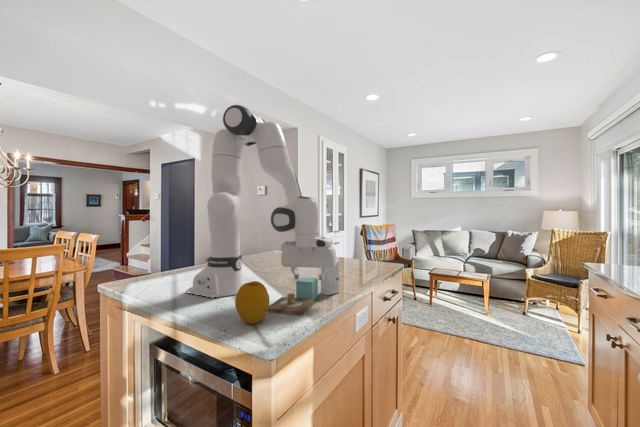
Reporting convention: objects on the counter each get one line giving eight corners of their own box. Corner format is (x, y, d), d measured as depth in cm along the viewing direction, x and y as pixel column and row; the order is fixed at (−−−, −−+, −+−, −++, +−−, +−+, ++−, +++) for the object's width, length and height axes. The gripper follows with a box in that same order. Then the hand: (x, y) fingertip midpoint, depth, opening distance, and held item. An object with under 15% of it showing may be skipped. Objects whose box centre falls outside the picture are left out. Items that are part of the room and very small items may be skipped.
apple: (245, 314, 89) (245, 276, 89) (275, 316, 87) (274, 277, 86) (228, 327, 79) (228, 284, 79) (261, 329, 77) (260, 286, 77)
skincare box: (326, 295, 107) (326, 263, 106) (320, 292, 110) (319, 261, 110) (339, 292, 110) (339, 261, 110) (332, 290, 114) (332, 259, 114)
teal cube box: (296, 300, 101) (296, 281, 101) (302, 295, 107) (302, 277, 107) (312, 301, 100) (312, 282, 100) (317, 296, 105) (317, 278, 105)
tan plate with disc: (266, 311, 91) (266, 298, 90) (282, 300, 102) (282, 288, 102) (301, 315, 87) (301, 301, 87) (314, 303, 98) (314, 290, 98)
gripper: (277, 242, 103) (279, 280, 103) (332, 242, 97) (334, 282, 97) (284, 240, 109) (286, 276, 109) (336, 240, 103) (338, 278, 104)
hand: (309, 279), depth 103 cm, fingers open, 8 cm apart
